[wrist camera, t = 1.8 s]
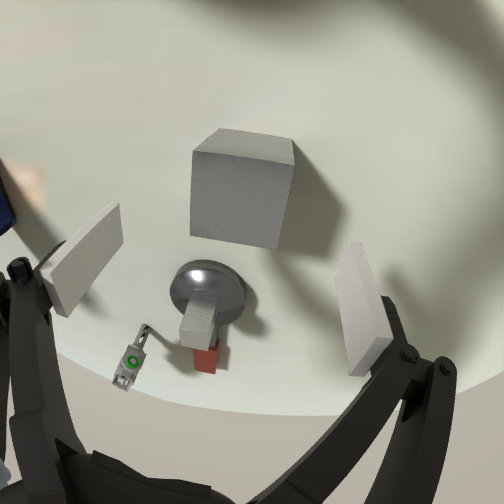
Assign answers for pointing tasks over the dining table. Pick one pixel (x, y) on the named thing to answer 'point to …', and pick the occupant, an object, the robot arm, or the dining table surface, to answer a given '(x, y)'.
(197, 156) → the gray rectangular block
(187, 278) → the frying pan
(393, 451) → the robot arm
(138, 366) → the mechanical component
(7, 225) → the blue box
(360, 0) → the dining table surface
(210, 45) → the dining table surface
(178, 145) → the dining table surface
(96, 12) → the dining table surface
